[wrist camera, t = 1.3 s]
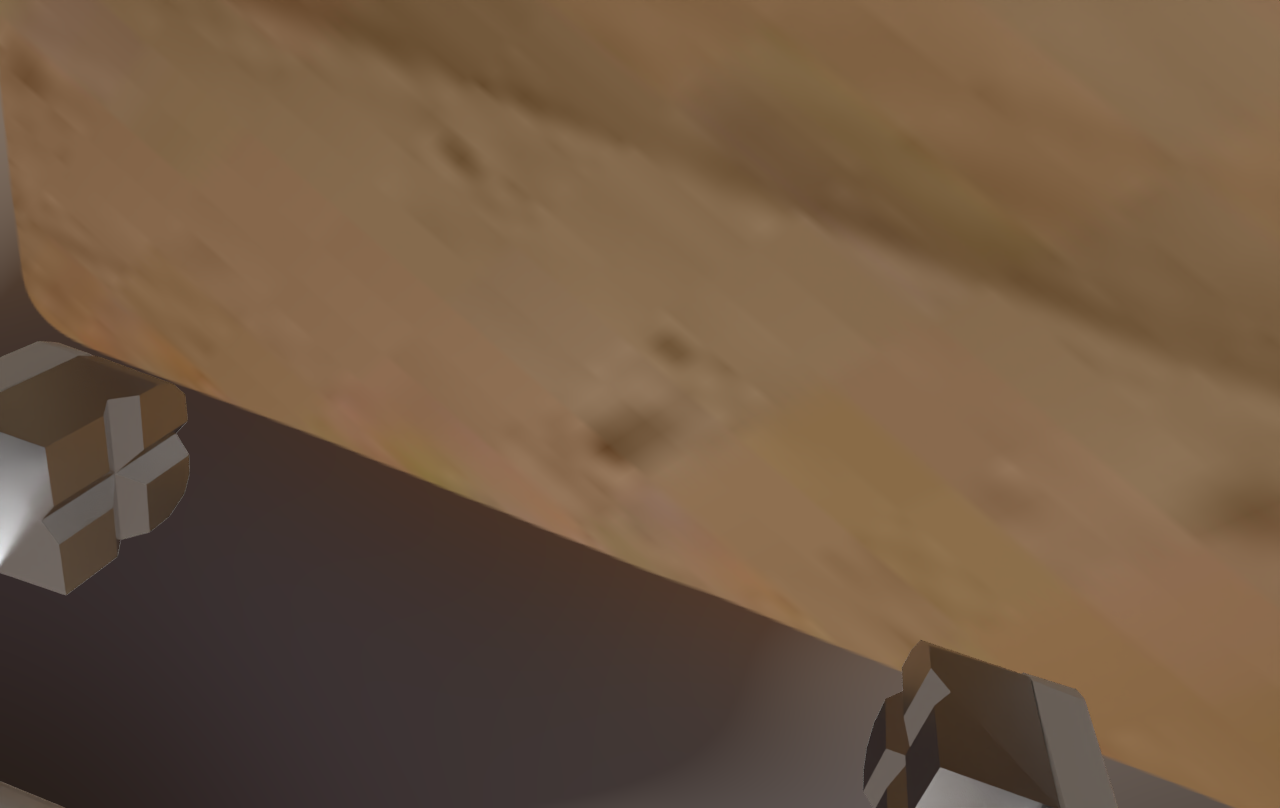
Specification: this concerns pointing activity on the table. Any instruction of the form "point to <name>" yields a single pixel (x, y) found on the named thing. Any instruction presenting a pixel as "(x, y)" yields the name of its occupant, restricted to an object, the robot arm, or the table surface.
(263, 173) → the table surface
